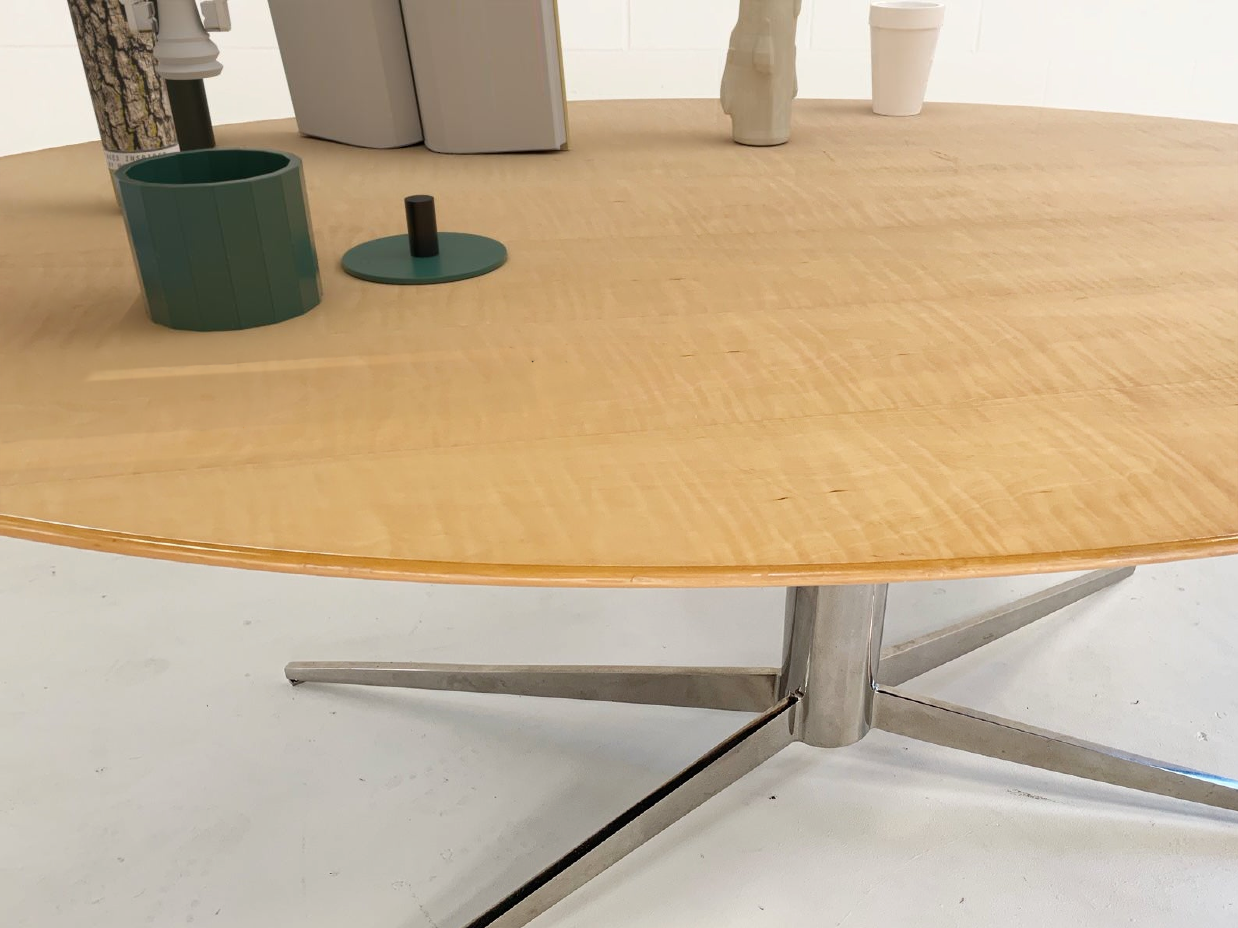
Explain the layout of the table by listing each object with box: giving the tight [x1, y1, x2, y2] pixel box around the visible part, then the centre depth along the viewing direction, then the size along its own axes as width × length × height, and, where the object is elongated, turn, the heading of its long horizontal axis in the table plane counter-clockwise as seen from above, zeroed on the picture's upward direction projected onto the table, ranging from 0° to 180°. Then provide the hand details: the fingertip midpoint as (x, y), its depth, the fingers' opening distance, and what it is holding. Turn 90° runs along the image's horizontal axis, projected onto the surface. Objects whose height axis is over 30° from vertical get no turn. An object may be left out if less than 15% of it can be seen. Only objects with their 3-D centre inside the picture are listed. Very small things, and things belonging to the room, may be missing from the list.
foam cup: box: [868, 0, 946, 117], centre depth 152 cm, size 10×9×13 cm
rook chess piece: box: [153, 0, 224, 80], centre depth 76 cm, size 4×4×8 cm
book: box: [267, 0, 572, 155], centre depth 132 cm, size 36×8×24 cm, turn 71°
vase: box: [719, 0, 803, 147], centre depth 132 cm, size 9×8×30 cm
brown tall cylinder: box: [66, 0, 180, 209], centre depth 107 cm, size 7×7×25 cm
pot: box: [113, 146, 324, 333], centre depth 84 cm, size 13×13×10 cm
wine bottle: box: [148, 0, 217, 151], centre depth 131 cm, size 6×6×30 cm
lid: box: [341, 194, 508, 285], centre depth 95 cm, size 14×14×6 cm
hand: (181, 32), depth 77 cm, fingers closed on rook chess piece, 3 cm apart
